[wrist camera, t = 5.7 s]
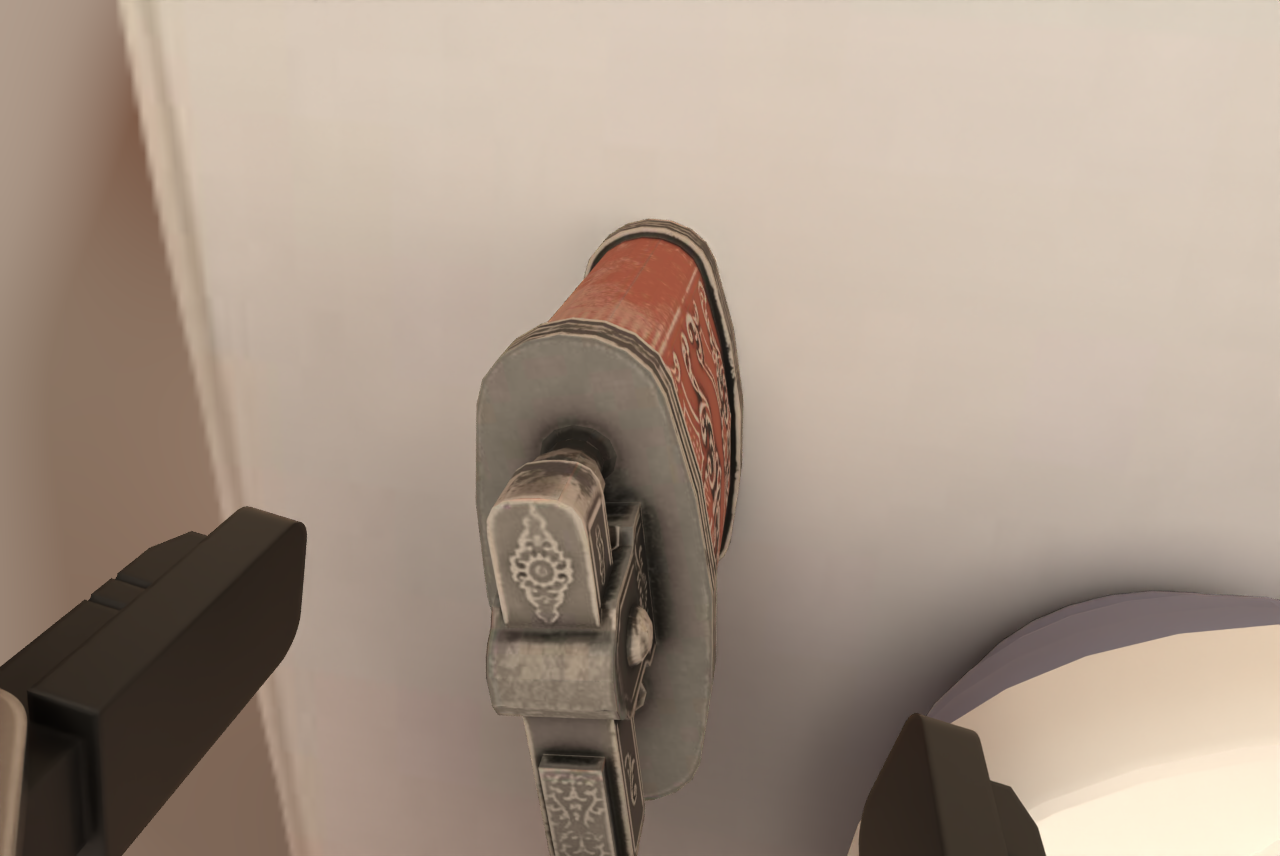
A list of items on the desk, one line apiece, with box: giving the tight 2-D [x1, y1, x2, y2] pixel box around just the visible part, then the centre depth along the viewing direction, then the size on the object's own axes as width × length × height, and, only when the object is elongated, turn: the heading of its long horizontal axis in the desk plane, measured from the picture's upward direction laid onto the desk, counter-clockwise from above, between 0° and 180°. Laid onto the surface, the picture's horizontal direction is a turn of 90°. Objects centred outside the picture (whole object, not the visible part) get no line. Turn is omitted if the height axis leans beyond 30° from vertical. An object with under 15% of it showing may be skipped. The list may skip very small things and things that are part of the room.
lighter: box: [476, 219, 743, 856], centre depth 15 cm, size 8×3×10 cm, turn 6°
